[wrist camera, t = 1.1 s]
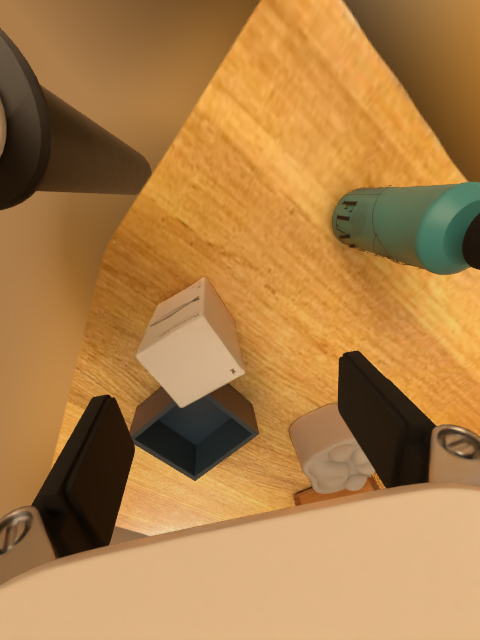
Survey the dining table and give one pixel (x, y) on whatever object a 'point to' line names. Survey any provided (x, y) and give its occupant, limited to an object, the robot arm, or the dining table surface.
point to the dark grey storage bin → (194, 429)
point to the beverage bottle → (414, 225)
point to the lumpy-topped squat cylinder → (329, 451)
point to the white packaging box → (191, 344)
